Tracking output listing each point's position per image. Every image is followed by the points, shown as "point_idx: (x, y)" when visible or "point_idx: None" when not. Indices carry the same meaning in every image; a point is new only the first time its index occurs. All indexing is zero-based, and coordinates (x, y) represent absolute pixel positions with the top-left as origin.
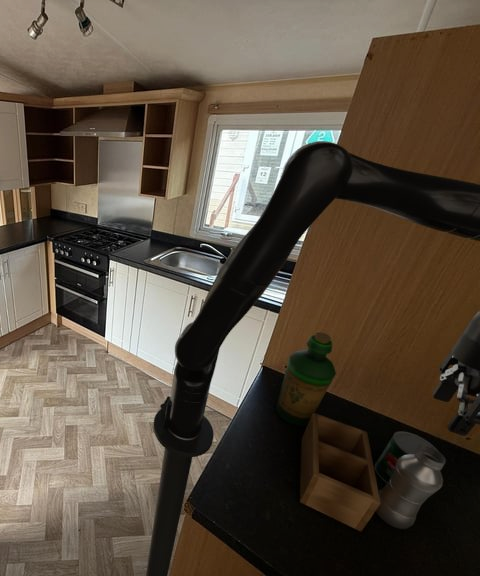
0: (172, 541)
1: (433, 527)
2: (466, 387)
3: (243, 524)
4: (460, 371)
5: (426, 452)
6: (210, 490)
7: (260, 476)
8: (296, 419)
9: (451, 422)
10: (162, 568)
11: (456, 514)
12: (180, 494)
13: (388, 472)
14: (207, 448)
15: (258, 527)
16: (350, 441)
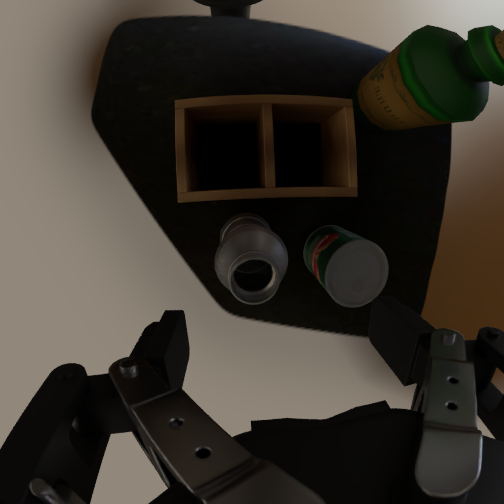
0: None
1: None
2: (182, 483)
3: (116, 70)
4: (402, 487)
5: (275, 274)
6: (141, 26)
7: (202, 66)
8: (356, 102)
9: (164, 324)
10: None
11: (302, 314)
12: None
13: (316, 238)
14: (209, 2)
15: (121, 84)
16: (337, 176)
